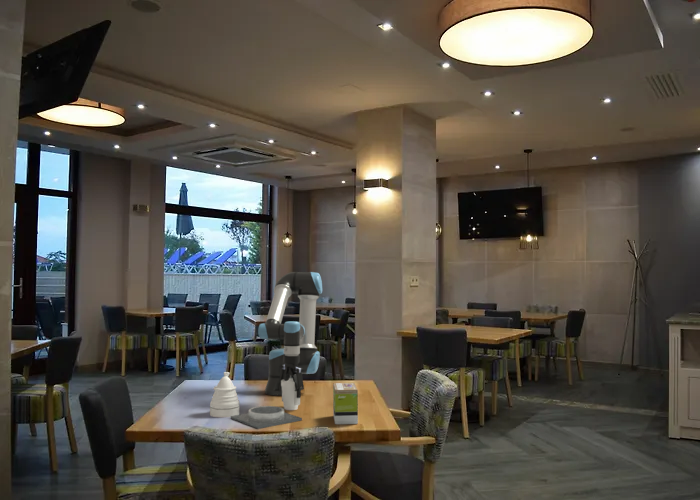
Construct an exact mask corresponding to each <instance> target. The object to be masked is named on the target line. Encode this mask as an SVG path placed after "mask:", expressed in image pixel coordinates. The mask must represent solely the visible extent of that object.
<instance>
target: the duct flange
mask: <svg viewBox="0 0 700 500" xmlns="http://www.w3.org/2000/svg"><path fill="white" fill-rule="evenodd" d="M230 419H231V420H233V421H237V422H239V423H242V424H244V425H247V426H249V427H252V428H255V429H258V430H259V429H264V428H271V427H274V426H280V425H281V426H282V425H284V424H285V425H286V424H291V423H297V422H301V421H303V417H300V416H297V415H294V414H290V413H288V412H285V409H284V407H280V406H273V405H263V406H262V405H261V406H254V407H251V408H249V409H248V412H247V413H239V414H238V415H234V416H231V417H230Z"/></svg>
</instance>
